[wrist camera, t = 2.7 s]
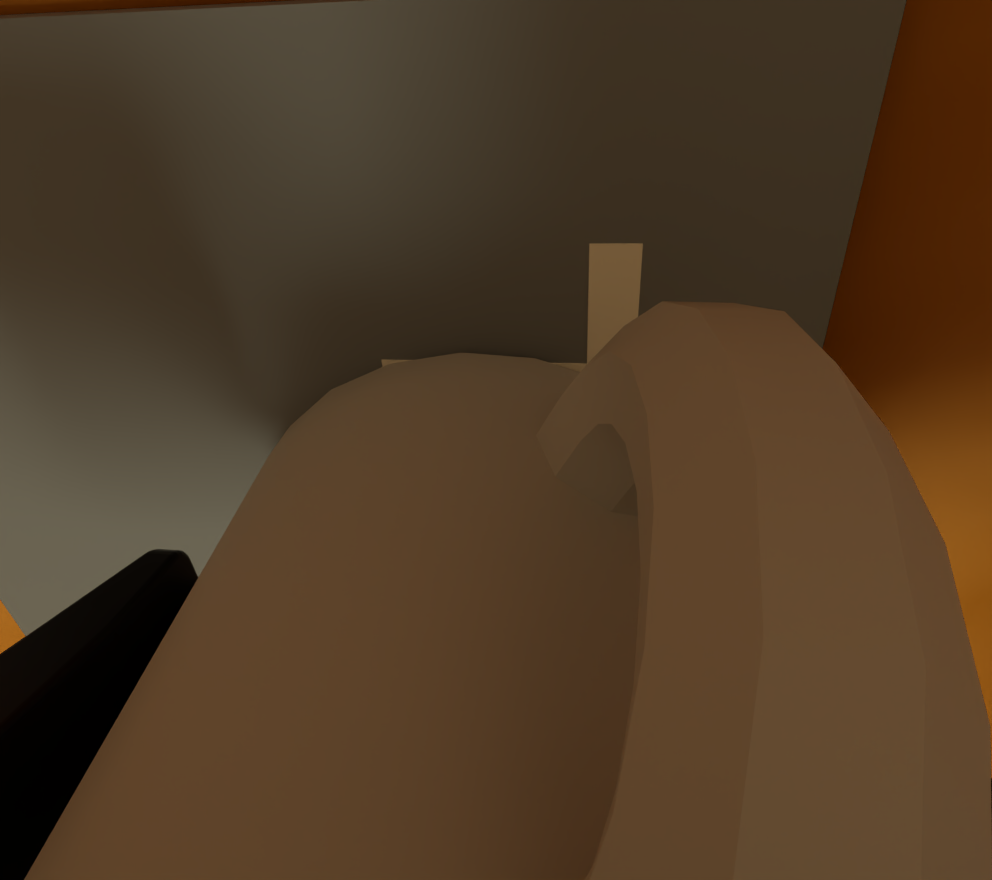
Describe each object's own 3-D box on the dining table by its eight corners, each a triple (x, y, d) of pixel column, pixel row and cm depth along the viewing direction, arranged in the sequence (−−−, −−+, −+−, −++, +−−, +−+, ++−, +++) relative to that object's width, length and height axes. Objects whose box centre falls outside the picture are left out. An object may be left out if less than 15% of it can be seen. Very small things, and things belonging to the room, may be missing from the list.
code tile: (728, 714, 14) (730, 730, 14) (58, 659, 16) (49, 672, 16) (903, -30, 7) (914, -26, 7) (-363, 32, 9) (-392, 37, 8)
